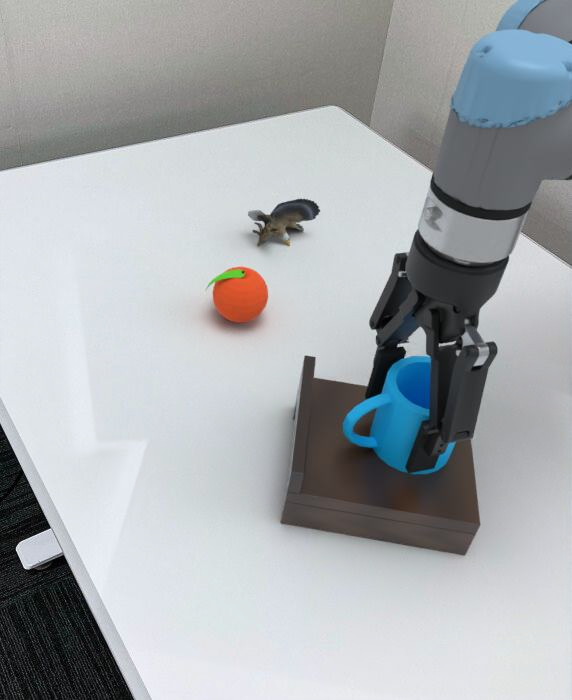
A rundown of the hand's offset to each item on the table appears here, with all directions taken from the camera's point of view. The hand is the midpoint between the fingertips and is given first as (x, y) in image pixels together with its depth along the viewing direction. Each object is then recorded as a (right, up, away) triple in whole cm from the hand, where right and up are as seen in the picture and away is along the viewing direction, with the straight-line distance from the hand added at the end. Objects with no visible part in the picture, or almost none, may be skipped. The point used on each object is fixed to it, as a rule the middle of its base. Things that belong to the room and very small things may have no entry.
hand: (398, 430), depth 76 cm
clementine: (-16, +12, +22) cm, 30 cm away
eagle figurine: (-9, +24, +36) cm, 44 cm away
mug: (0, -2, +2) cm, 2 cm away
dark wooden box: (-1, -5, +5) cm, 7 cm away
